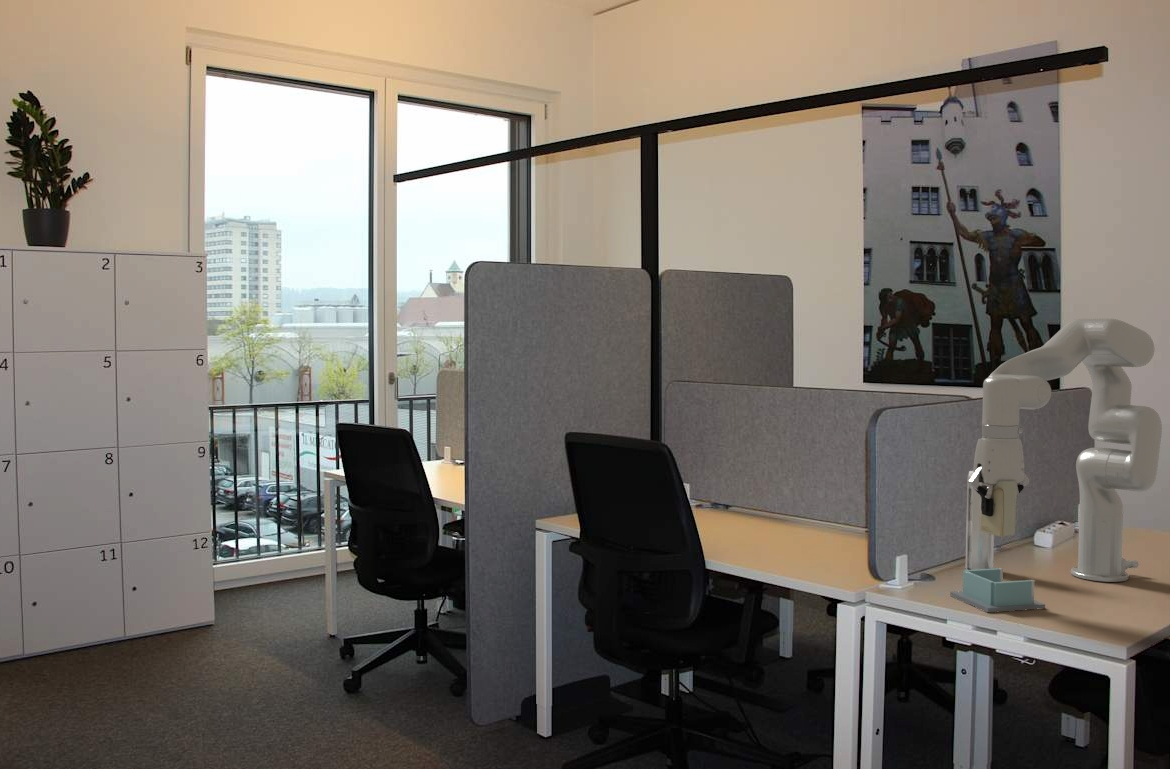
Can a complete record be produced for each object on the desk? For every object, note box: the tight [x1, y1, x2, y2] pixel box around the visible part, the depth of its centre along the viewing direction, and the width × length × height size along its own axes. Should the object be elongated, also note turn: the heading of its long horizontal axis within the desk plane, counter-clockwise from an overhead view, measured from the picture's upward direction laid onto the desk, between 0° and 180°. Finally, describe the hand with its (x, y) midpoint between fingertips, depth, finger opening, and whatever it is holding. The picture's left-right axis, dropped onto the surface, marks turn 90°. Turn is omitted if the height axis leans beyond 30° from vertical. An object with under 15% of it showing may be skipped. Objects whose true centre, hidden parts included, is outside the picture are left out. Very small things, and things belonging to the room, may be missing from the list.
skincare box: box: [980, 481, 1018, 538], centre depth 221 cm, size 6×4×12 cm
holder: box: [949, 567, 1046, 613], centre depth 222 cm, size 14×14×6 cm
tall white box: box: [965, 470, 995, 570], centre depth 251 cm, size 6×6×25 cm
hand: (998, 514), depth 221 cm, fingers closed on skincare box, 4 cm apart
